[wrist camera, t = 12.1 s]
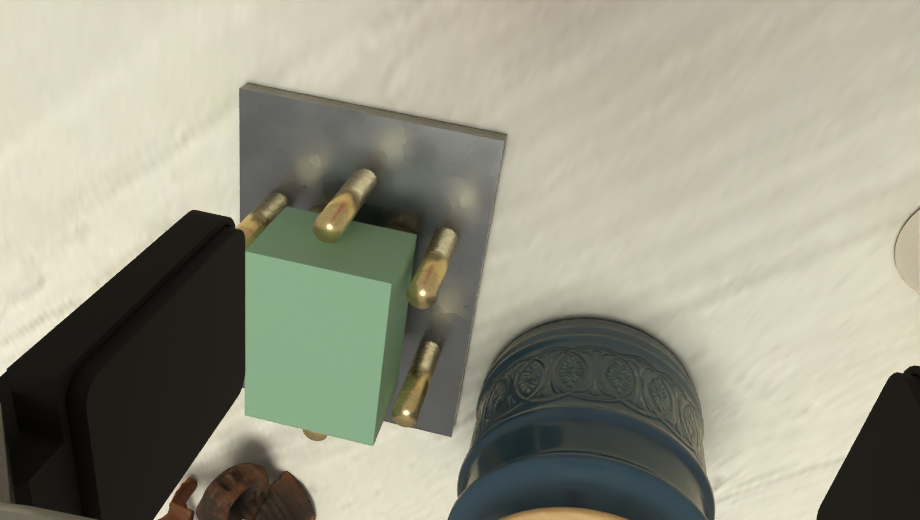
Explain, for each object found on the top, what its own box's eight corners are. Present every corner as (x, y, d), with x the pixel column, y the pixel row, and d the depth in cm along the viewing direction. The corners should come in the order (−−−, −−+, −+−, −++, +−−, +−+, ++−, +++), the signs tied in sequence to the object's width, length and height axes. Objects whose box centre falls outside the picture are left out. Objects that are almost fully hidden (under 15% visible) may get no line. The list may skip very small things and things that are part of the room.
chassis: (506, 134, 39) (485, 188, 33) (454, 426, 49) (431, 508, 43) (247, 83, 41) (182, 125, 35) (247, 377, 51) (196, 450, 45)
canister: (498, 482, 51) (446, 756, 36) (466, 317, 45) (387, 560, 30) (703, 483, 48) (741, 784, 33) (696, 306, 42) (738, 571, 27)
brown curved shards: (326, 550, 58) (239, 637, 53) (244, 475, 62) (157, 549, 57) (317, 468, 50) (213, 562, 45) (223, 387, 54) (118, 466, 49)
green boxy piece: (416, 234, 39) (391, 283, 35) (397, 386, 44) (373, 446, 40) (285, 206, 40) (244, 251, 35) (280, 359, 45) (244, 415, 40)
